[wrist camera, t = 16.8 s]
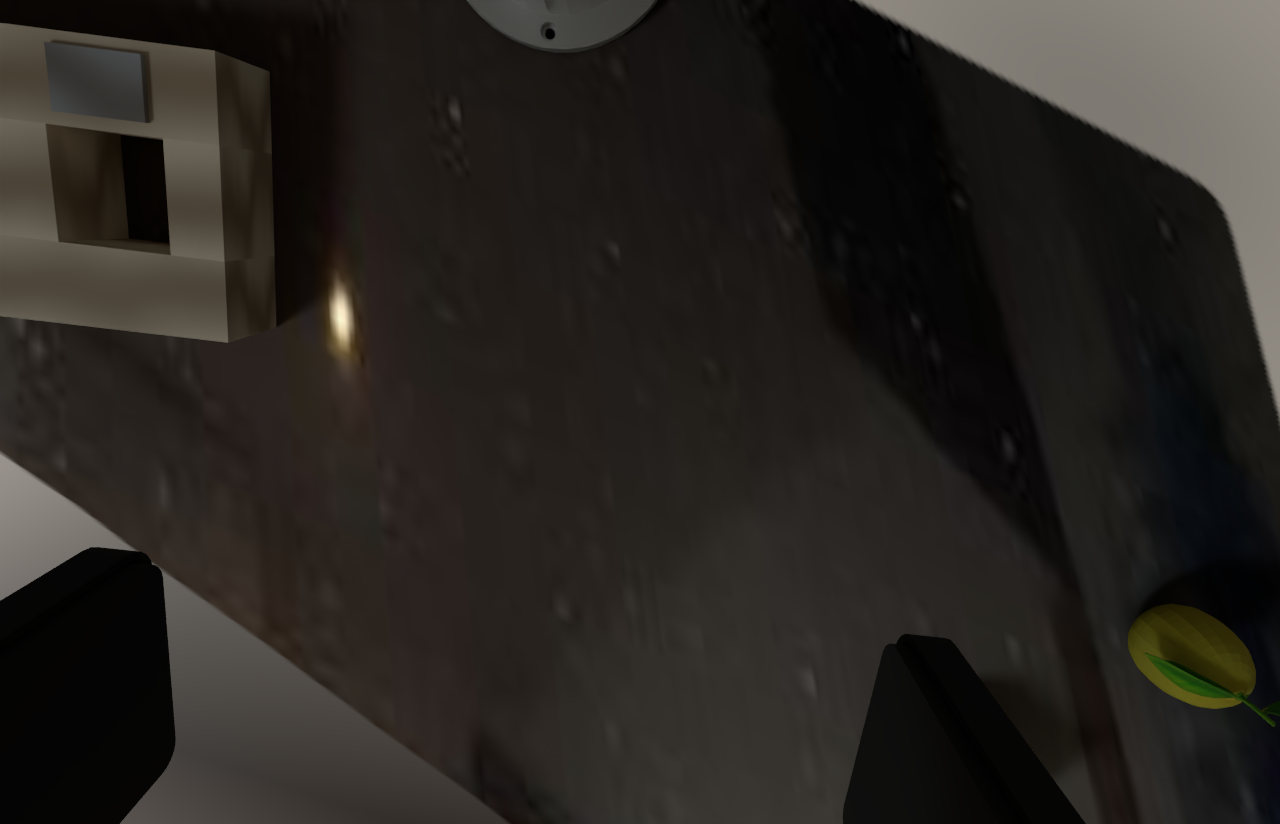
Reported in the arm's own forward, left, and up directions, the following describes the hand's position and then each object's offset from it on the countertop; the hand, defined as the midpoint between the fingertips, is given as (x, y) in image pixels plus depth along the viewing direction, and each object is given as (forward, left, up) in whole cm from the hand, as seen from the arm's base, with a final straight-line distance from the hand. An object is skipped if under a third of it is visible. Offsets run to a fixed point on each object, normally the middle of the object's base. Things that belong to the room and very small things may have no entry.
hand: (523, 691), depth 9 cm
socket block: (-4, -32, -33) cm, 46 cm away
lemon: (+16, +38, -34) cm, 53 cm away
